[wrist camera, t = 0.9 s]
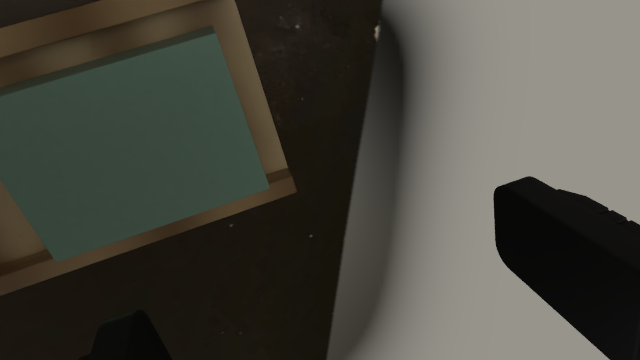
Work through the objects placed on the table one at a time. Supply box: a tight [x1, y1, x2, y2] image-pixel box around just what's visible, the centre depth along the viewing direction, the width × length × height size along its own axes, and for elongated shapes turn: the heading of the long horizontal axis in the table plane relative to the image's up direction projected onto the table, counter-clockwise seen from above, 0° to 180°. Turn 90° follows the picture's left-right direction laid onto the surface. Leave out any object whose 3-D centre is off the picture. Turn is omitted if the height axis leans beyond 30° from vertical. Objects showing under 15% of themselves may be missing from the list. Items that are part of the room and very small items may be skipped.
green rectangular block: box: [0, 26, 270, 262], centre depth 22 cm, size 11×8×5 cm
